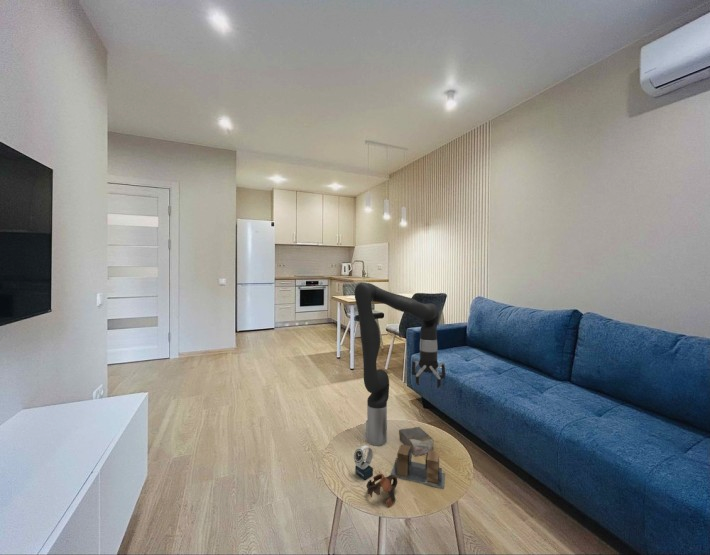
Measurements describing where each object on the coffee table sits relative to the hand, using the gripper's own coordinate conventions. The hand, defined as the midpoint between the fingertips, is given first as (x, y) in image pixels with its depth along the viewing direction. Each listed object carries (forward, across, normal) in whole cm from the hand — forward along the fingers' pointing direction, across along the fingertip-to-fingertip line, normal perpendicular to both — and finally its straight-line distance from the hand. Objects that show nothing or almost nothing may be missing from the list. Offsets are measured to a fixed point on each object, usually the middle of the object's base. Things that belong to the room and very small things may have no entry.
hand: (428, 385), depth 131 cm
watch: (+30, -22, -23) cm, 44 cm away
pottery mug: (+30, -12, -31) cm, 45 cm away
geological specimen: (+31, -6, +5) cm, 31 cm away
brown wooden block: (+29, +4, -16) cm, 33 cm away
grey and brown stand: (+30, -2, -16) cm, 34 cm away
